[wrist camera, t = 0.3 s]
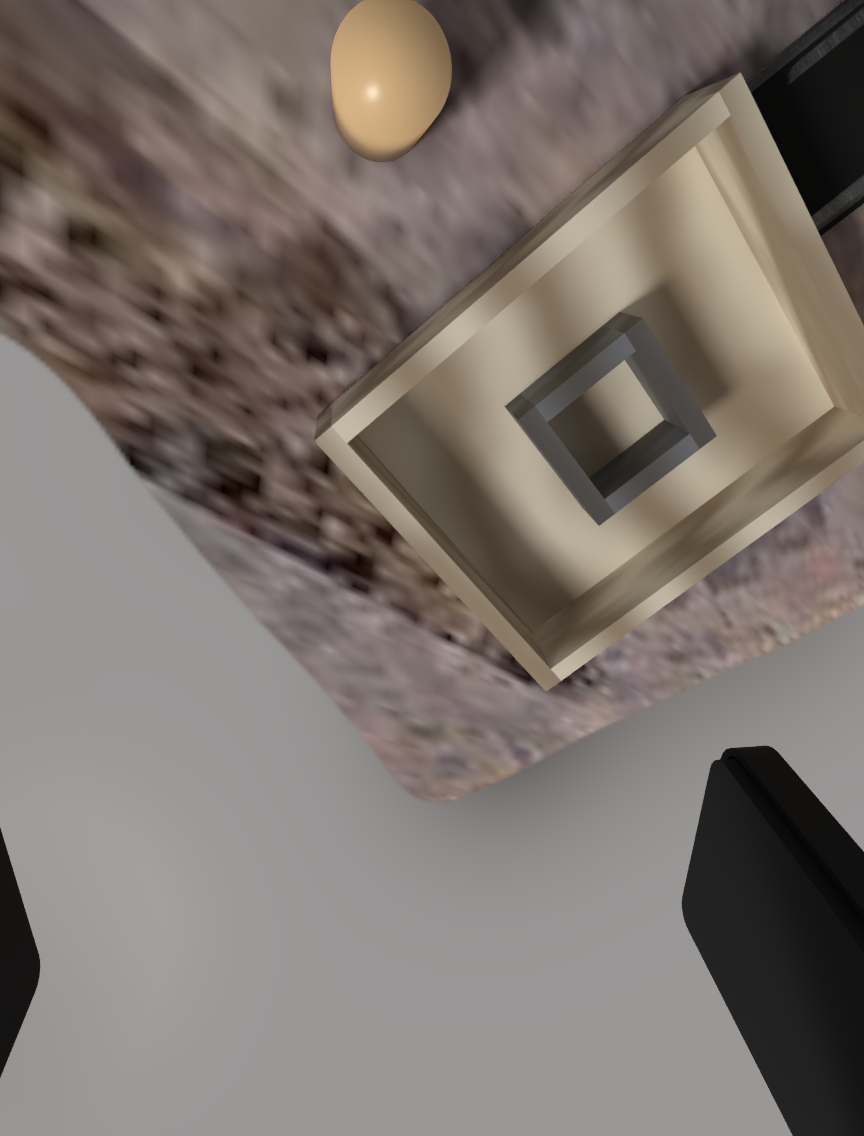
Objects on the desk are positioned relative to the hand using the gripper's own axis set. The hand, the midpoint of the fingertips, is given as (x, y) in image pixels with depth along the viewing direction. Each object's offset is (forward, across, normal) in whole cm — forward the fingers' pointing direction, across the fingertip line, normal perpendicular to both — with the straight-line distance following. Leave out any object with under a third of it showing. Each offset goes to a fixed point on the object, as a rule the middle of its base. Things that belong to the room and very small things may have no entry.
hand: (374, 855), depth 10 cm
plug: (+29, -2, -13) cm, 32 cm away
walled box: (+29, -13, 0) cm, 32 cm away
